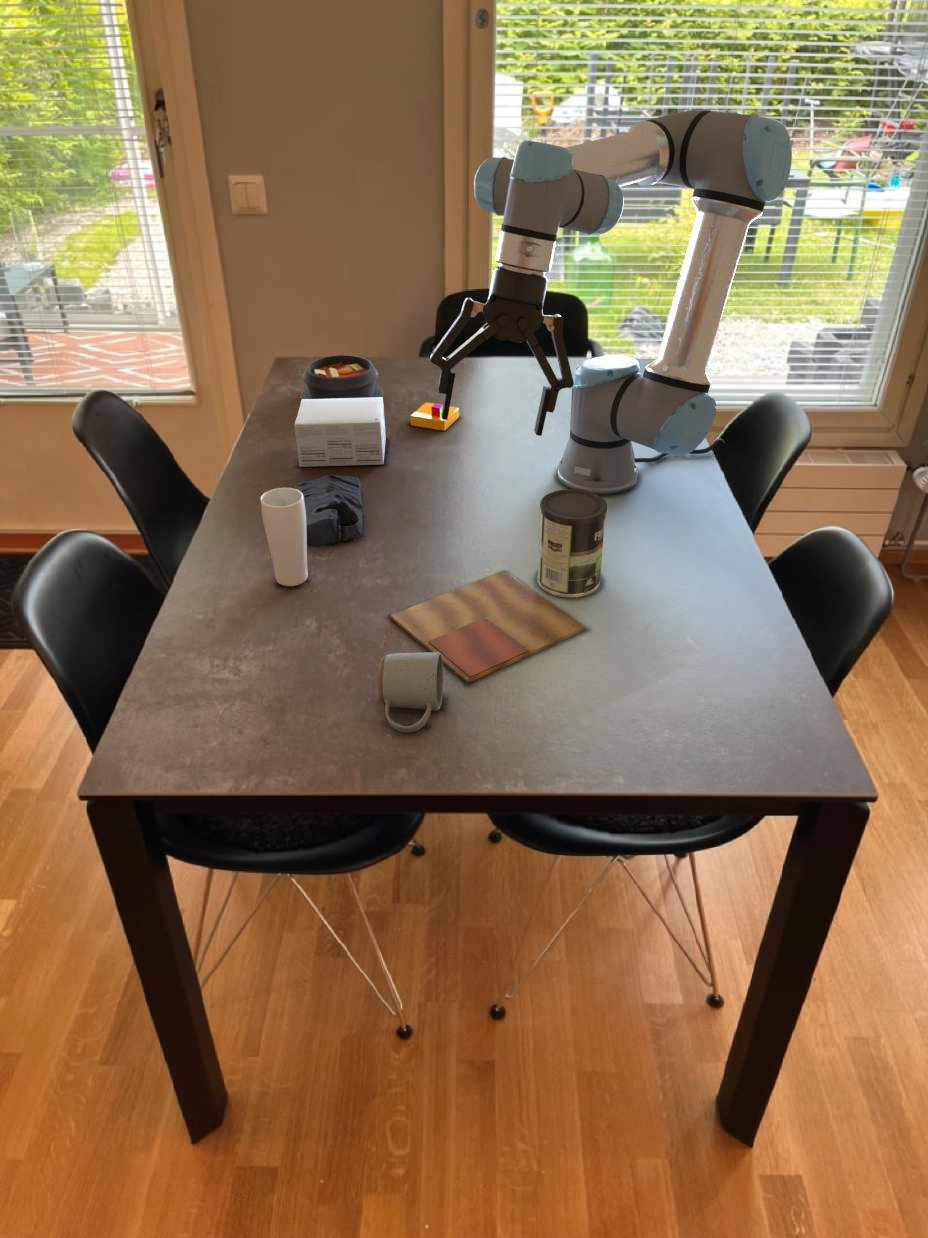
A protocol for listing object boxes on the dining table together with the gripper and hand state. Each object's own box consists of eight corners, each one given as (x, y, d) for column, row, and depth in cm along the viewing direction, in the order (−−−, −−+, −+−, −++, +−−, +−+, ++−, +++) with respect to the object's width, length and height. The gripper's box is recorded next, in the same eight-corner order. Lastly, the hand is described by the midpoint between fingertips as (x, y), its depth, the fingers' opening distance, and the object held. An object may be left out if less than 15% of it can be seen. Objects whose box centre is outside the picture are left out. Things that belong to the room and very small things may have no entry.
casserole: (381, 423, 210) (379, 386, 205) (295, 425, 209) (291, 388, 204) (385, 380, 230) (383, 346, 225) (306, 382, 230) (303, 347, 225)
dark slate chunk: (372, 486, 185) (370, 464, 182) (361, 545, 167) (359, 521, 164) (292, 486, 185) (289, 464, 182) (272, 545, 167) (269, 521, 164)
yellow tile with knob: (410, 425, 209) (409, 406, 206) (426, 411, 215) (425, 393, 212) (444, 430, 206) (444, 412, 204) (459, 417, 212) (459, 398, 210)
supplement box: (386, 438, 203) (383, 395, 198) (383, 466, 192) (381, 421, 187) (305, 439, 203) (300, 397, 197) (298, 467, 192) (293, 423, 187)
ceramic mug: (386, 683, 136) (383, 639, 131) (444, 685, 135) (443, 641, 131) (374, 734, 127) (371, 689, 123) (437, 737, 126) (435, 692, 122)
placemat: (503, 573, 159) (504, 569, 159) (585, 630, 146) (585, 625, 145) (390, 618, 149) (390, 614, 148) (467, 684, 135) (467, 679, 135)
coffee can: (602, 567, 161) (609, 491, 153) (597, 601, 152) (604, 522, 144) (541, 561, 162) (544, 485, 154) (532, 594, 154) (535, 516, 146)
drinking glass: (320, 572, 160) (311, 490, 151) (301, 593, 155) (291, 510, 146) (283, 565, 162) (272, 484, 153) (263, 586, 156) (251, 503, 148)
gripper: (430, 254, 125) (404, 416, 133) (617, 290, 128) (580, 446, 136) (429, 250, 132) (404, 404, 140) (606, 284, 135) (572, 433, 143)
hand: (491, 425), depth 138 cm, fingers open, 13 cm apart
